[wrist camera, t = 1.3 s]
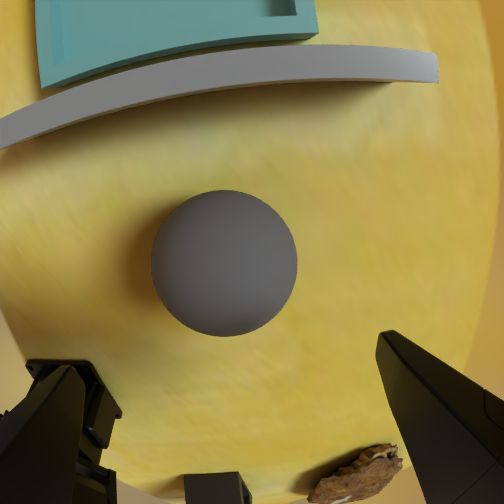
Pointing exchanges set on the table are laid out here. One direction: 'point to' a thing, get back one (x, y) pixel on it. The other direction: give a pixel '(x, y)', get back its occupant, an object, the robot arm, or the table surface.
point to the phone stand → (216, 489)
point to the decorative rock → (359, 477)
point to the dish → (154, 30)
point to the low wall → (216, 81)
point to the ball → (224, 263)
